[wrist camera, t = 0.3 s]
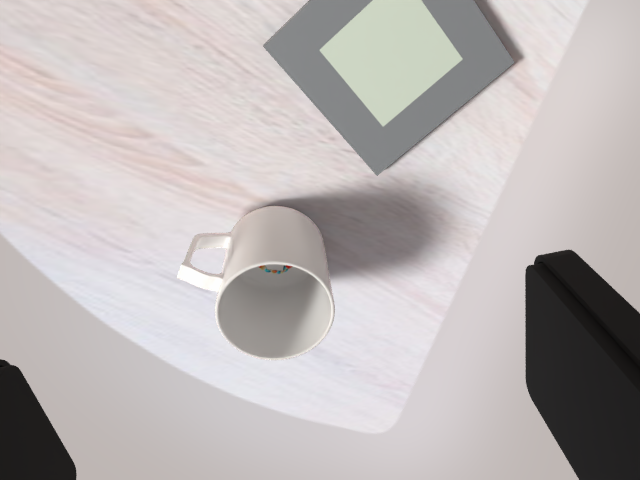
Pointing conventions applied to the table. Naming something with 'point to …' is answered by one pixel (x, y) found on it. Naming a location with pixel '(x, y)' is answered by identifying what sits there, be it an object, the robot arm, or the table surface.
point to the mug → (268, 283)
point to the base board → (388, 66)
